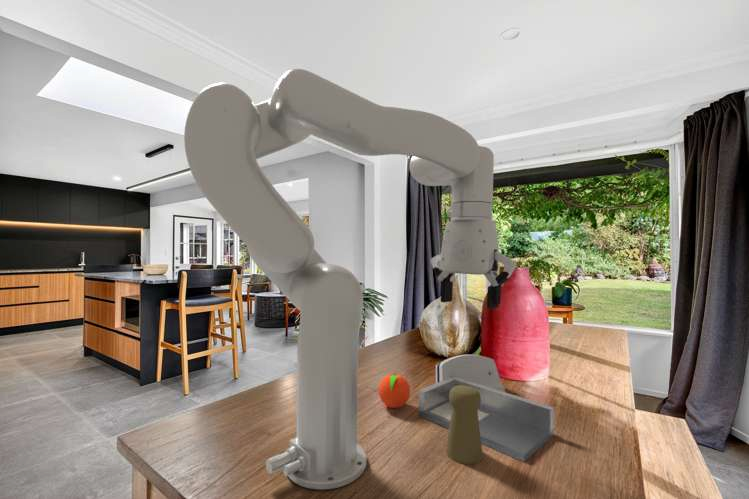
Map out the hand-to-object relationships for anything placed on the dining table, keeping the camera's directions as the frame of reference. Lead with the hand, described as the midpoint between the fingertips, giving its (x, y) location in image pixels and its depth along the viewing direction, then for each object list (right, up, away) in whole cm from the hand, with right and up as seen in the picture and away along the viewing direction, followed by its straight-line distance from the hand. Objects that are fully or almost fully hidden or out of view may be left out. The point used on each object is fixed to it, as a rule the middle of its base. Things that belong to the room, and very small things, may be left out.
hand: (468, 304), depth 67 cm
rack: (+4, -24, +3) cm, 25 cm away
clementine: (-14, -24, +10) cm, 29 cm away
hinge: (+5, -25, +20) cm, 33 cm away
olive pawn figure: (-3, -24, -7) cm, 25 cm away
